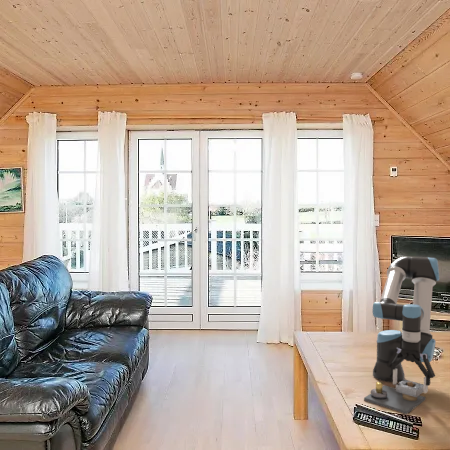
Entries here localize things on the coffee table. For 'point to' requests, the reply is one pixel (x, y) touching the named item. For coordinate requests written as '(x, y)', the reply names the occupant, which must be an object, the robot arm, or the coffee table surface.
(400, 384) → the square hole frame
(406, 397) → the stand
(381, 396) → the cylinder
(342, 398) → the coffee table surface
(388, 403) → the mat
